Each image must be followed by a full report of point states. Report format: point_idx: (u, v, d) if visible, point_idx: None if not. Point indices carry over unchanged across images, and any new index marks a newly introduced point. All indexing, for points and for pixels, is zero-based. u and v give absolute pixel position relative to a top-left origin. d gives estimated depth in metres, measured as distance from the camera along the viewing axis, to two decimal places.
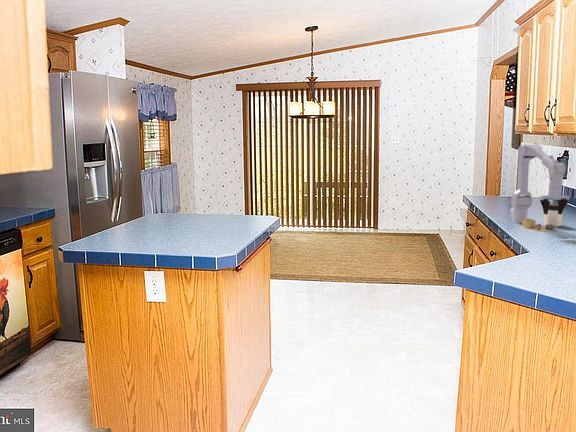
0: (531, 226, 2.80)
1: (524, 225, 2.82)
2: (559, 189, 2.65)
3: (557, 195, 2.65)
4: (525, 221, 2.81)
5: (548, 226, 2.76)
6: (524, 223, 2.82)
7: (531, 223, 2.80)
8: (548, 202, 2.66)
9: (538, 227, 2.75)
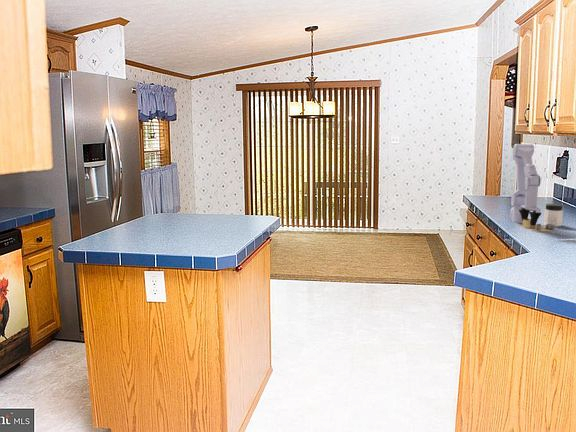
0: (531, 226, 2.80)
1: (524, 225, 2.82)
2: (526, 200, 2.79)
3: (525, 205, 2.81)
4: (525, 221, 2.81)
5: (548, 226, 2.76)
6: (524, 223, 2.82)
7: None
8: (520, 211, 2.85)
9: (538, 227, 2.75)
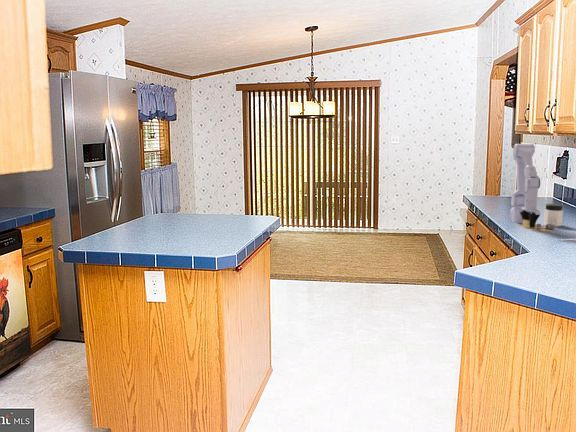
0: None
1: (524, 225, 2.82)
2: (526, 202, 2.80)
3: (525, 207, 2.81)
4: (525, 221, 2.81)
5: (548, 226, 2.76)
6: (524, 223, 2.82)
7: None
8: (521, 213, 2.85)
9: (538, 227, 2.75)
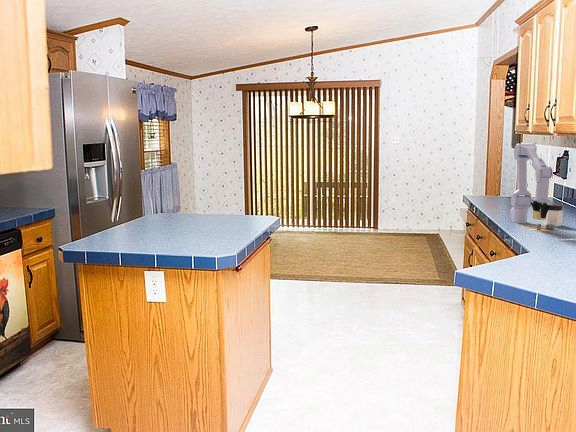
0: None
1: (535, 216, 2.74)
2: (537, 192, 2.72)
3: (536, 198, 2.73)
4: (536, 212, 2.74)
5: (548, 226, 2.76)
6: (535, 214, 2.74)
7: None
8: (532, 203, 2.77)
9: (538, 227, 2.75)
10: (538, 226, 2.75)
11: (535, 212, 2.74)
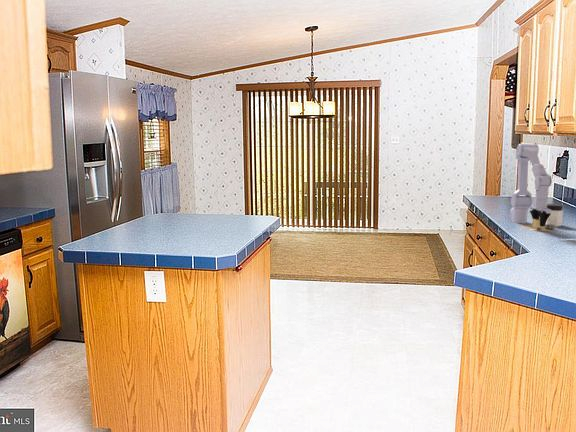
0: (541, 226, 2.73)
1: (534, 225, 2.75)
2: (536, 200, 2.73)
3: (535, 206, 2.74)
4: (535, 221, 2.74)
5: (548, 226, 2.76)
6: (534, 223, 2.75)
7: None
8: (531, 211, 2.78)
9: None
10: None
11: (534, 220, 2.75)
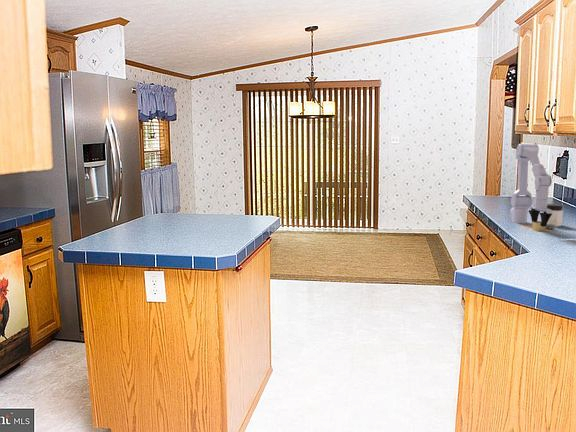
0: (541, 229, 2.74)
1: (534, 227, 2.75)
2: (536, 200, 2.73)
3: (535, 206, 2.74)
4: (535, 223, 2.75)
5: (548, 226, 2.76)
6: (534, 225, 2.75)
7: (541, 226, 2.73)
8: (530, 211, 2.79)
9: None
10: None
11: (534, 223, 2.75)
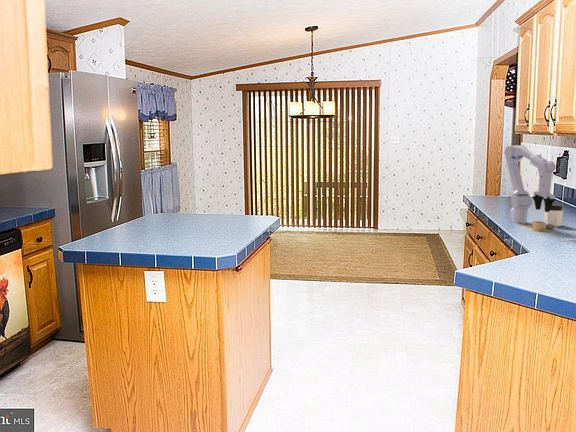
0: (541, 229, 2.74)
1: (534, 227, 2.75)
2: (540, 186, 2.78)
3: (538, 192, 2.80)
4: (535, 223, 2.75)
5: (548, 226, 2.76)
6: (534, 225, 2.75)
7: (541, 226, 2.73)
8: (533, 197, 2.84)
9: None
10: None
11: (534, 223, 2.75)
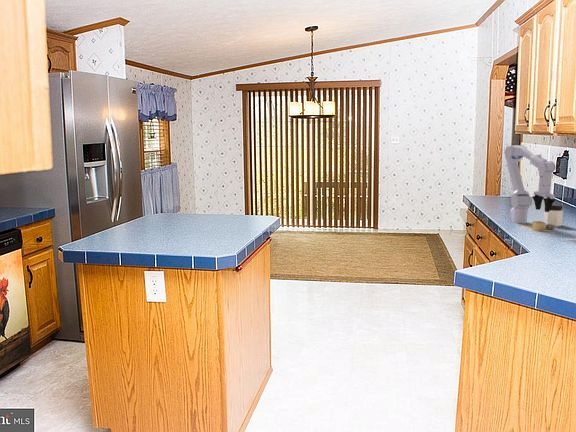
0: (541, 229, 2.74)
1: (534, 227, 2.75)
2: (540, 186, 2.78)
3: (538, 191, 2.80)
4: (535, 223, 2.75)
5: (548, 226, 2.76)
6: (534, 225, 2.75)
7: (541, 226, 2.73)
8: (533, 197, 2.84)
9: None
10: None
11: (534, 223, 2.75)
